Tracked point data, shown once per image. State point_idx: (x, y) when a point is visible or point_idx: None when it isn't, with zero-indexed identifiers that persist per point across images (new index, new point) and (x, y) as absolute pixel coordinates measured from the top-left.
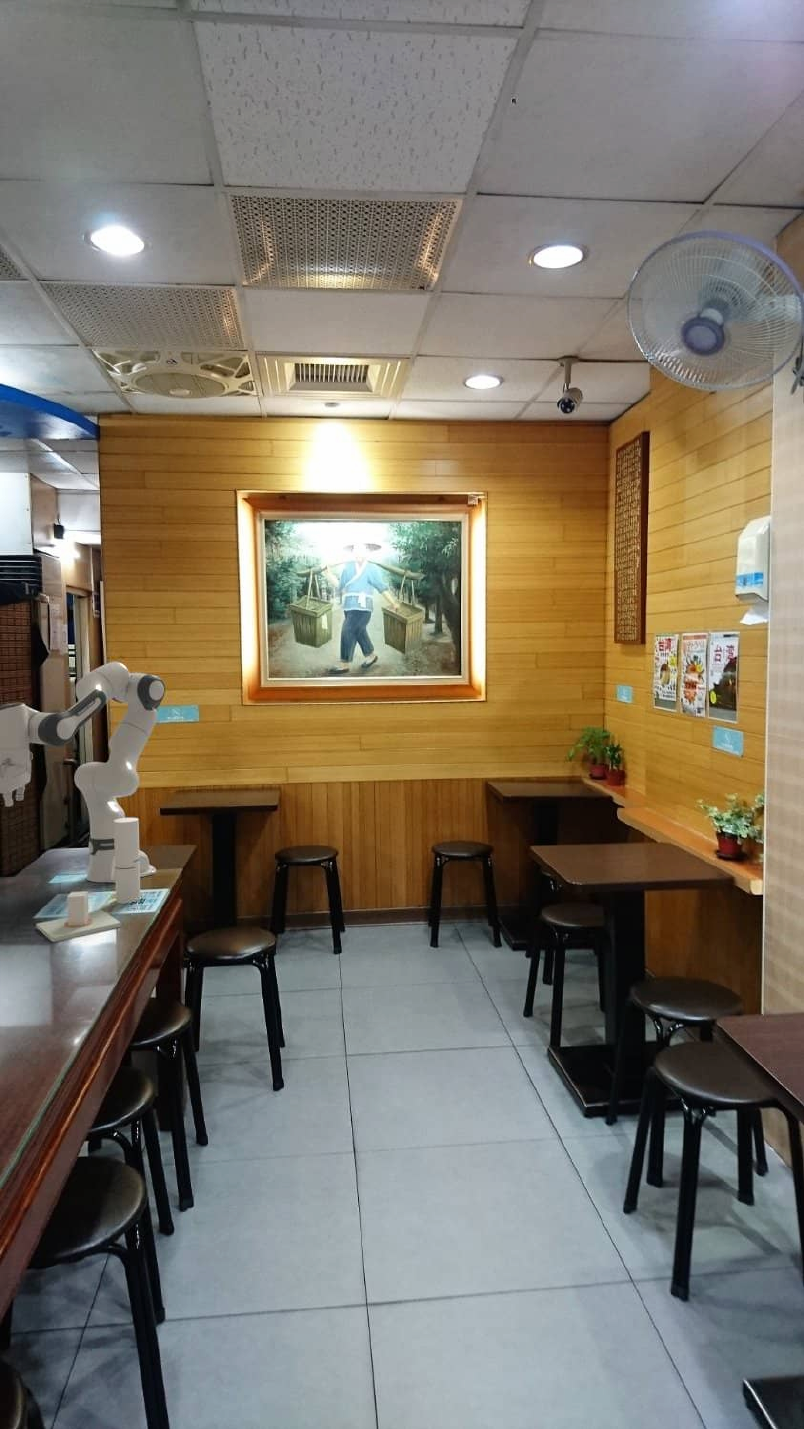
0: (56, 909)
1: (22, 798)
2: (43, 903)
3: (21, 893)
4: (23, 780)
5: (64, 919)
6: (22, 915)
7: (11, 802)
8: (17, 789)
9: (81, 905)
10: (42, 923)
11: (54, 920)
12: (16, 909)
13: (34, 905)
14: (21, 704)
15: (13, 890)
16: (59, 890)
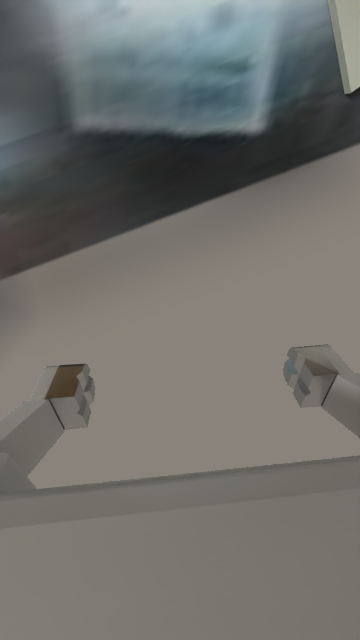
0: (210, 85)
1: (66, 370)
2: (156, 145)
3: (80, 230)
4: (49, 591)
5: (350, 3)
6: (238, 168)
7: (343, 361)
8: (26, 472)
9: None
10: (355, 73)
11: (345, 40)
12: (193, 198)
13: (170, 164)
14: None
15: (61, 255)
16: (44, 136)
